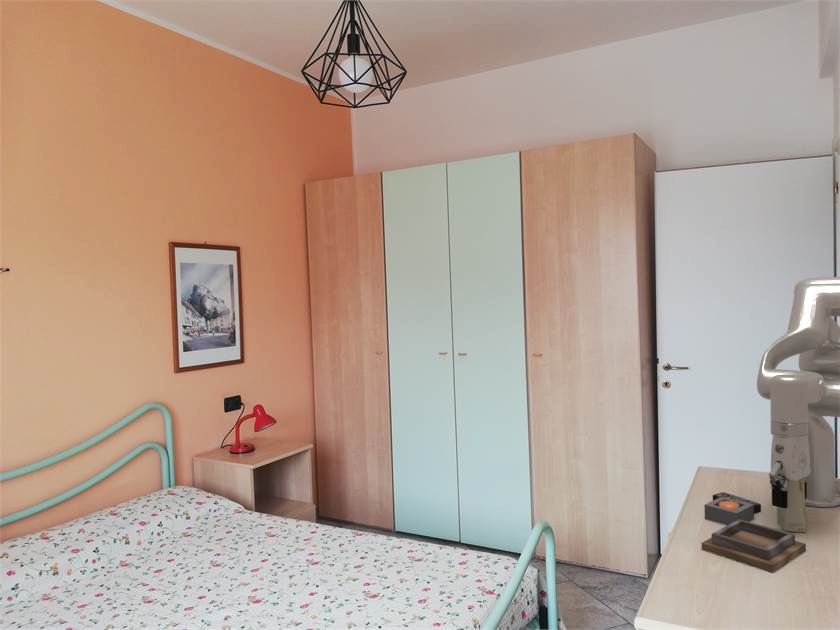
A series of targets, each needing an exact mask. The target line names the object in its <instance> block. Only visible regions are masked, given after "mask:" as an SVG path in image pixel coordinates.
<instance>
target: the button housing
mask: <svg viewBox="0 0 840 630" xmlns="http://www.w3.org/2000/svg"><path fill="white" fill-rule="evenodd" d="M721 501H732V502H735V503H738V504H739V508H738V509H736V510H731V509H728V508H724V507H720V506H719V502H721ZM704 519H705V520H708V521H712V522H716V523H719V524H722V525H725V526H727V525H729V524H731V523H733V522H735V521H737V520H738V519H741V520H744V521H748V522H751V521H753V520H755V514H754V505H753V504H749V503H745V502H741V501H737V500H733V499H729V498H725V497H720V498H717V499H715V500H713V499H712V500H711V501H710V502H709V501H708V502H707V503H705V504H704Z"/></svg>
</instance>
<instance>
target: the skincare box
mask: <svg viewBox="0 0 840 630" xmlns="http://www.w3.org/2000/svg"><path fill="white" fill-rule="evenodd" d="M782 477H785V476H782ZM780 482H781V484H782V483H783V481H781V480H780ZM786 491H788V507H787V508H786V509H785V508H780V507H776V521H777V522H776V523H777V524H778V525H779V526H780V527H781V528H782V529H783V531H785V532H790V533H791V532H792V533H793V532H797V533H806V531H807V529H806V526H807V525H806V505H805V488H804V479H803V478H802V479H800V480H798V481H795V482H791V481H790V480H789V481H788V484H787V487H786Z"/></svg>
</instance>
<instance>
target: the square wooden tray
mask: <svg viewBox="0 0 840 630" xmlns="http://www.w3.org/2000/svg"><path fill="white" fill-rule="evenodd" d="M701 550H702V551H705V550H706V551H705V552H708V551H710V552H709V553H711V552H712V553H711V554H714V555H716V556H720V557H723V556H724V558H726V557H727V558H726V559H729V558H730V560H732V559H733V560H734V561H735V560H736V562H739V561H740V562H739V563H743V564H745V563H746V564H745V565H748V566H751V567H755V568H757V569H761V570H764V571H767V572H769V573H772V574H773V573H774V572H776V571H777V570H779V569H780V568H782V567H784V566H785V565H787V564H788V563H789V562H791V561H792V560H794V559H796V558H797V557H799V556H800V555H801V554H803V553H805V552H806V551H805V550H807V543H805V542H801V541H798V540H796V534H795V533H793V532H792V533H791V532H789V531H785V530H781V529H777V528H773V527H770V526H766V525H763V524H758V523H755V522H751V521H749V522H748V521H744V520H741V519H738V520H737V521H735V522H733V523H731V524H729V525H725V526H724V527H721V528H720V529H718V530H716V531H714V532H712V533H711V537H709V538H708V539H706V540H703V542H701ZM802 552H803V553H802ZM799 554H800V555H799ZM796 556H797V557H796ZM793 558H794V559H793ZM733 560H732V561H733ZM790 560H791V561H790Z"/></svg>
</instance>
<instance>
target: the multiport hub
mask: <svg viewBox="0 0 840 630" xmlns="http://www.w3.org/2000/svg"><path fill="white" fill-rule="evenodd" d="M720 497H725V498H729V499H733V500H737V501H741V502H745V503H749V504H753V505H754V515H756V514H759V513H762V505H761V503H758V502H756V501H753V500H750V499H748V498H747V499H746V498H744V497H740V496H737V495H734V494H731V493H727V492H725V491H723V492H719V493H715V494H712V501H713V500H715V499H717V498H720Z"/></svg>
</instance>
